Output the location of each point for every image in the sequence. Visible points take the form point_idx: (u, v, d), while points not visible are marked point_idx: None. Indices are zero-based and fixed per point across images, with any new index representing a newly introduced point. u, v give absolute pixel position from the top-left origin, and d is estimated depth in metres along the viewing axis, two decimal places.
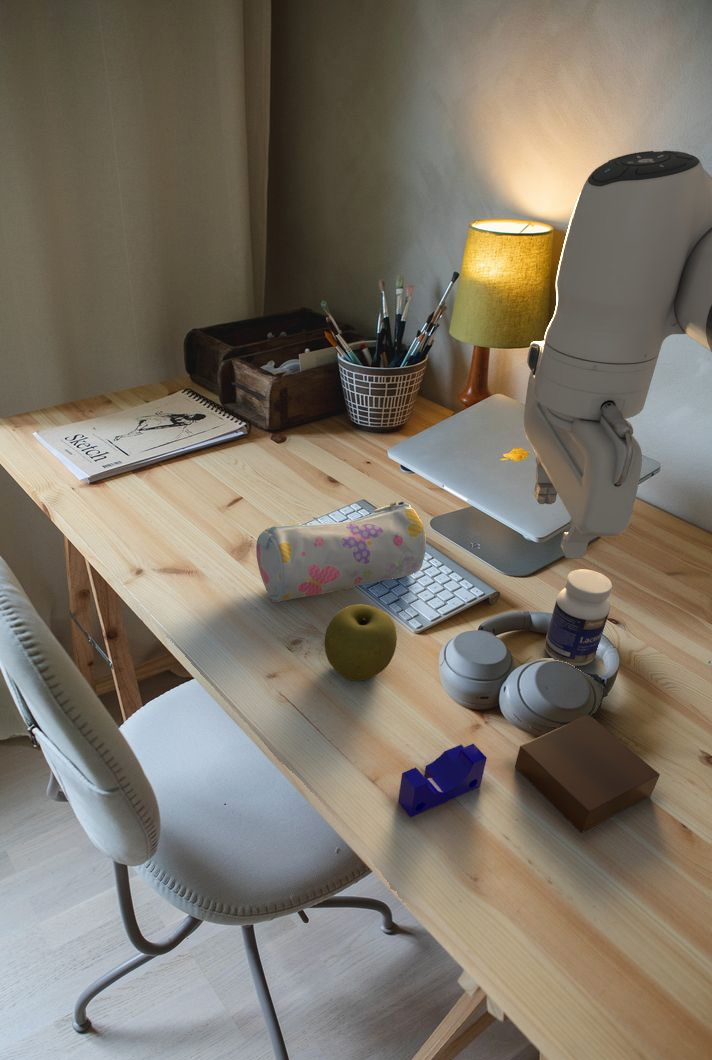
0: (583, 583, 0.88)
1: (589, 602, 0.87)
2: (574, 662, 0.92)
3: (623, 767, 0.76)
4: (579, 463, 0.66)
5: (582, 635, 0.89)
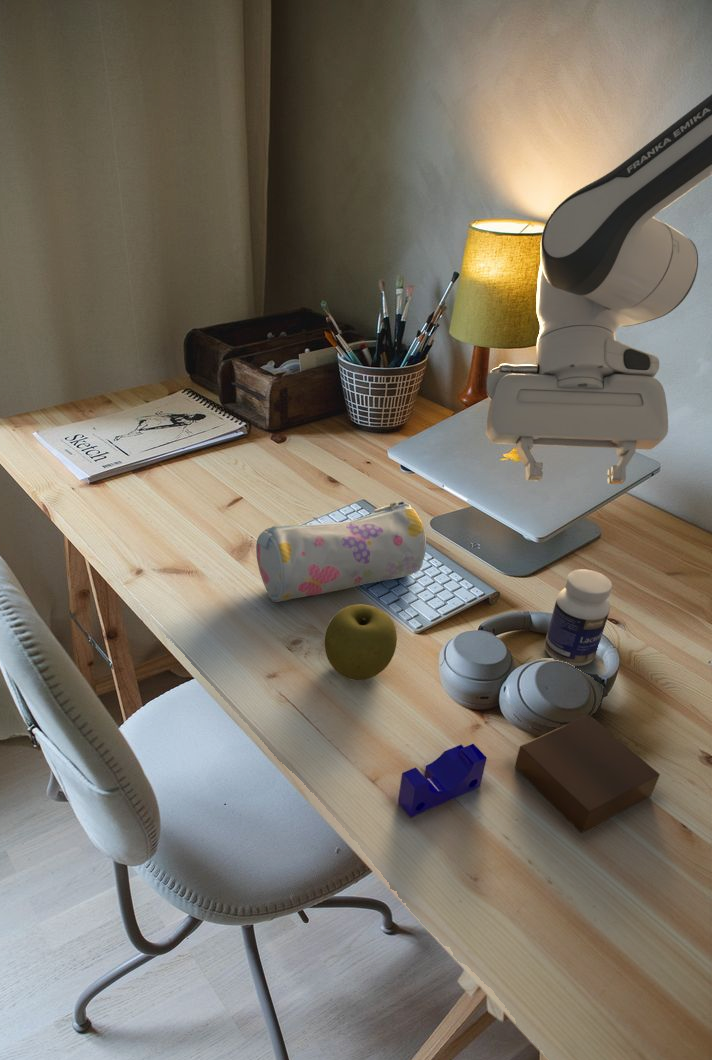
0: (583, 583, 0.88)
1: (589, 602, 0.87)
2: (574, 662, 0.92)
3: (623, 767, 0.76)
4: None
5: (582, 635, 0.89)
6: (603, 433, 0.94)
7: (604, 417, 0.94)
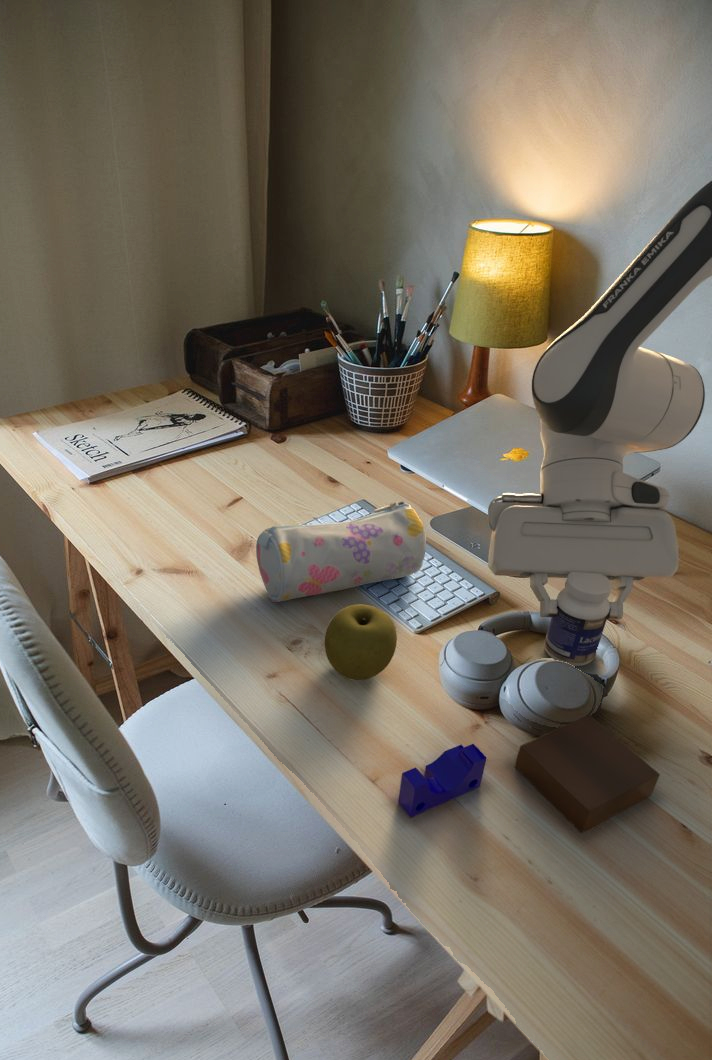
0: (583, 583, 0.88)
1: (589, 602, 0.87)
2: (574, 662, 0.92)
3: (623, 767, 0.76)
4: None
5: (582, 635, 0.89)
6: (610, 569, 0.89)
7: (612, 552, 0.90)
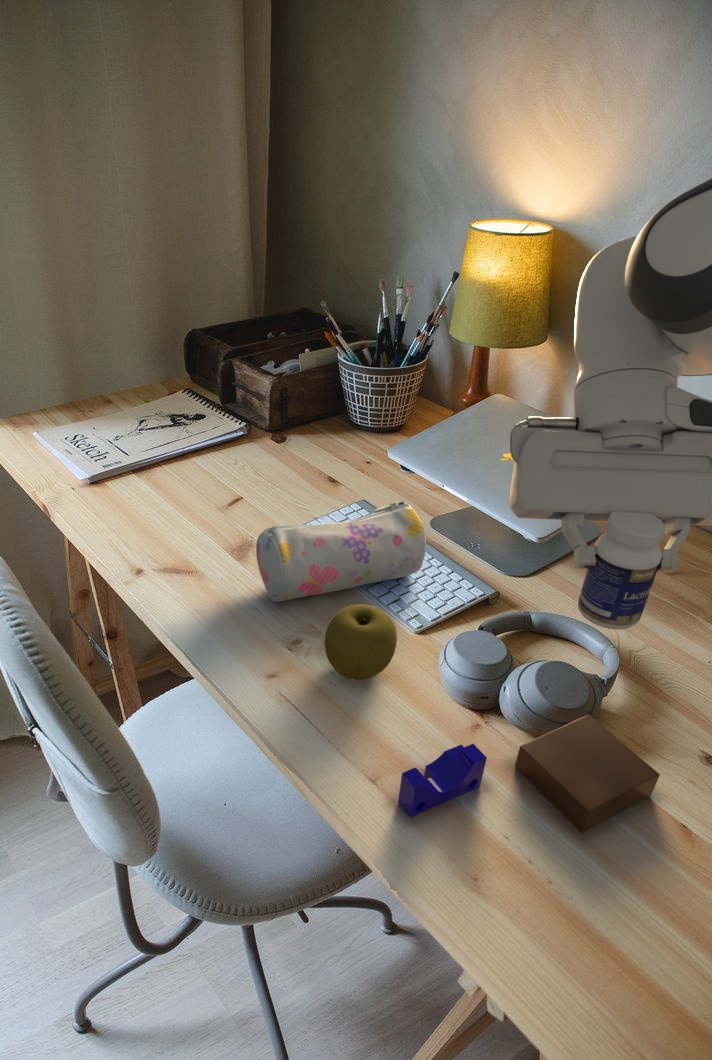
0: (629, 524, 0.71)
1: (637, 547, 0.70)
2: (615, 624, 0.74)
3: (623, 767, 0.76)
4: None
5: (626, 590, 0.72)
6: (663, 508, 0.72)
7: (664, 488, 0.72)
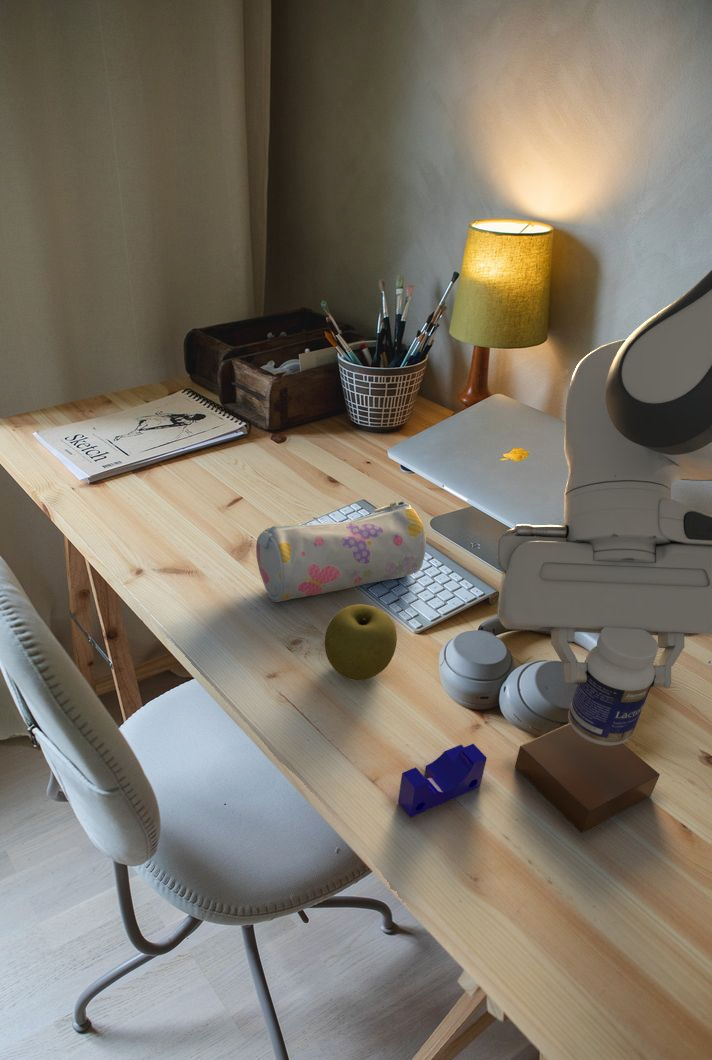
0: (621, 643, 0.68)
1: (629, 668, 0.67)
2: (607, 741, 0.72)
3: (623, 767, 0.76)
4: None
5: (618, 709, 0.69)
6: (656, 624, 0.69)
7: (657, 602, 0.70)
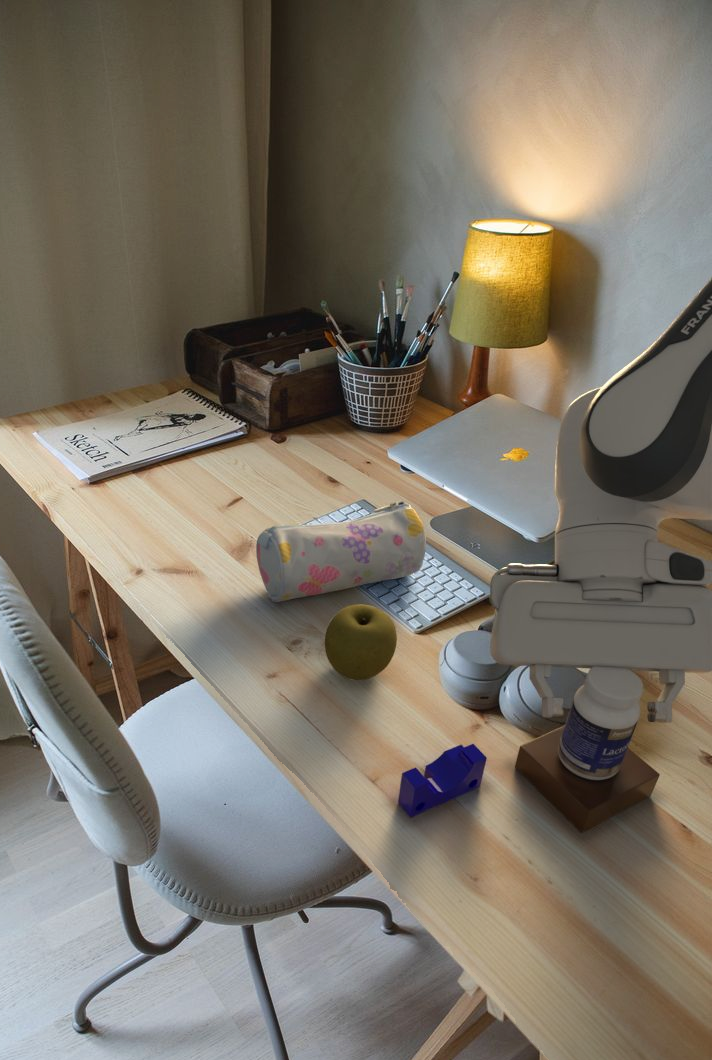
0: (607, 683, 0.71)
1: (615, 708, 0.70)
2: (595, 776, 0.74)
3: (623, 767, 0.76)
4: None
5: (605, 746, 0.72)
6: (643, 661, 0.72)
7: (644, 640, 0.72)
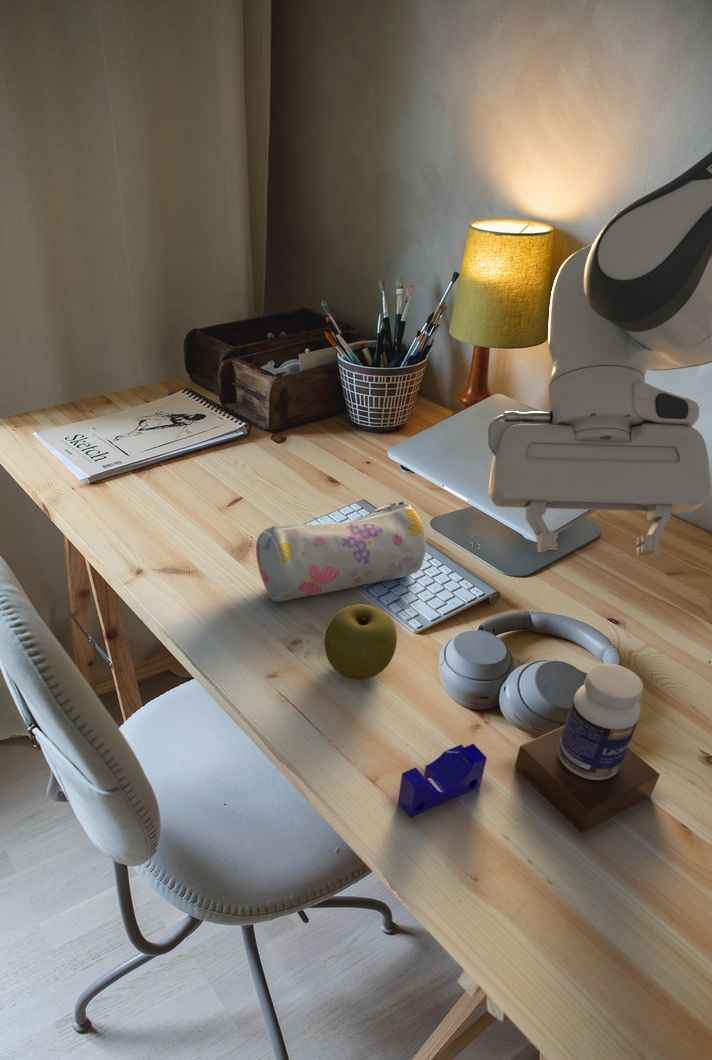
0: (607, 683, 0.71)
1: (615, 708, 0.70)
2: (595, 776, 0.74)
3: (623, 767, 0.76)
4: None
5: (605, 746, 0.72)
6: (631, 496, 0.77)
7: (633, 477, 0.77)
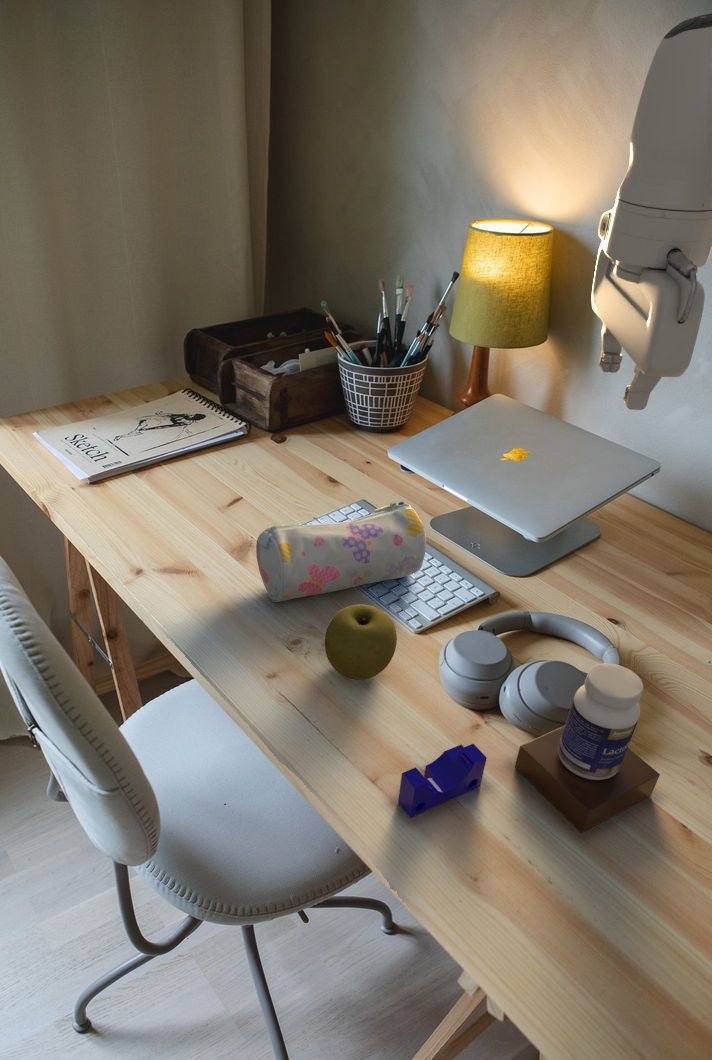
0: (607, 683, 0.71)
1: (615, 707, 0.70)
2: (595, 776, 0.74)
3: (623, 767, 0.76)
4: (645, 310, 0.72)
5: (605, 746, 0.72)
6: None
7: None
